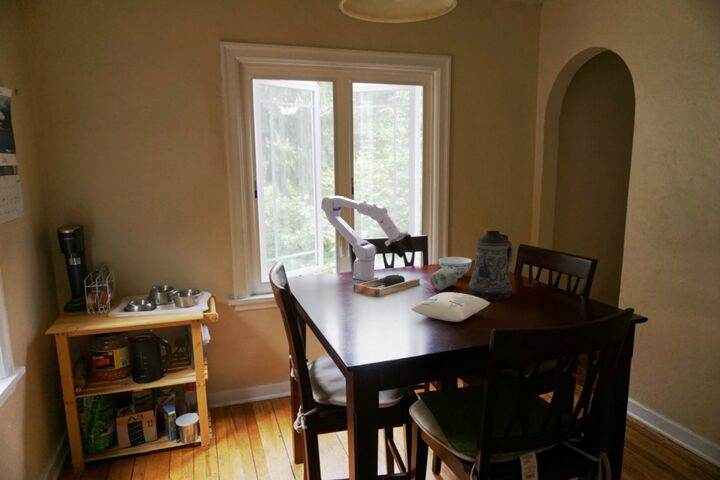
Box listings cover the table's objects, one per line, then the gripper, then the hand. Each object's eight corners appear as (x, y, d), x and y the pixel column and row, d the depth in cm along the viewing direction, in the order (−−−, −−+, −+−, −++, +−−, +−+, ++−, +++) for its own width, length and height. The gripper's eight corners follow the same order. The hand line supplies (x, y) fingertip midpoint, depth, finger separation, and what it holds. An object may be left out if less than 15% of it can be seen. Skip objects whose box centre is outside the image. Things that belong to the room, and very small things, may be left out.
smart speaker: (403, 283, 200) (403, 274, 200) (406, 288, 192) (405, 279, 191) (383, 283, 200) (383, 274, 199) (385, 288, 191) (384, 279, 191)
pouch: (441, 284, 165) (411, 294, 150) (491, 294, 153) (463, 306, 138) (440, 305, 167) (410, 318, 151) (489, 317, 155) (462, 331, 139)
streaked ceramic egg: (447, 286, 180) (440, 262, 184) (428, 293, 186) (422, 270, 190) (465, 287, 190) (459, 265, 193) (447, 294, 196) (441, 272, 199)
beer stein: (463, 297, 176) (464, 233, 172) (475, 285, 193) (477, 227, 189) (507, 302, 168) (509, 235, 164) (516, 289, 185) (518, 229, 181)
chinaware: (472, 280, 201) (472, 263, 200) (437, 279, 204) (438, 263, 203) (470, 273, 216) (471, 257, 215) (438, 272, 219) (439, 256, 218)
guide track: (353, 291, 188) (353, 284, 188) (396, 279, 207) (396, 272, 206) (376, 297, 179) (376, 289, 178) (419, 284, 197) (419, 277, 197)
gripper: (384, 228, 191) (403, 254, 188) (405, 219, 201) (423, 244, 198) (375, 237, 196) (393, 262, 193) (396, 228, 206) (413, 252, 203)
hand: (407, 254), depth 196 cm, fingers open, 7 cm apart
